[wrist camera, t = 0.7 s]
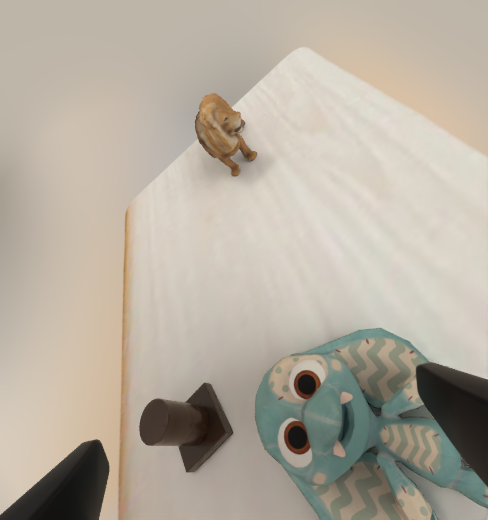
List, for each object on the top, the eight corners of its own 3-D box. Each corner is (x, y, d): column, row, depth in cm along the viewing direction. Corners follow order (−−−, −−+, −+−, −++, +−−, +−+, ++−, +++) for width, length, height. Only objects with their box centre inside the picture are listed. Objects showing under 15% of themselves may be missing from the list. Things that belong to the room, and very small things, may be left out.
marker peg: (233, 432, 22) (184, 429, 18) (193, 472, 22) (139, 476, 19) (210, 383, 25) (165, 372, 22) (176, 419, 25) (126, 414, 22)
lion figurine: (278, 163, 33) (228, 96, 27) (241, 194, 34) (185, 137, 28) (240, 115, 43) (197, 58, 37) (213, 141, 44) (167, 90, 38)
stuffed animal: (596, 769, 7) (191, 519, 13) (508, 613, 13) (255, 490, 19) (549, 321, 11) (253, 286, 17) (497, 356, 16) (291, 321, 22)
